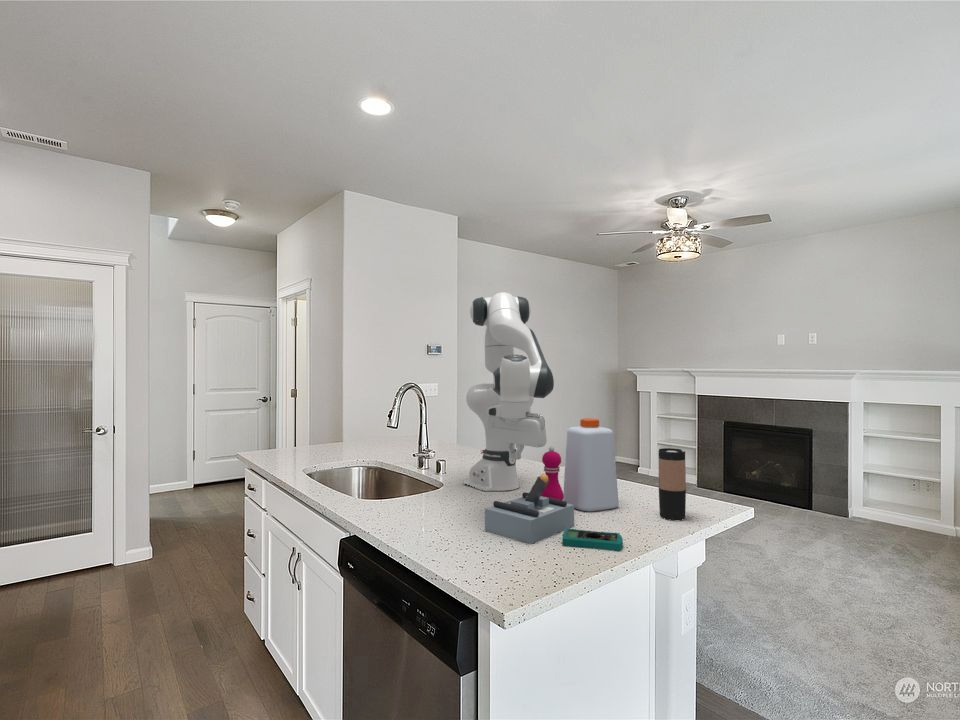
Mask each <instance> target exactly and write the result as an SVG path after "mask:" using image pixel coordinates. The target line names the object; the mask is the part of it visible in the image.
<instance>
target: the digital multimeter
mask: <svg viewBox="0 0 960 720" xmlns="http://www.w3.org/2000/svg"><path fill="white" fill-rule="evenodd" d="M623 541H624V538H623V536H622V535H621V534H620V533H619V532H610V531H609V532H608V531H596V530H595V531H592V530H586V529H585V530H583V529H574V528H568V529H566V530H563V533H562V541H561V542H562V546H563V547H569V548H570V547H571V548H572V547H573V548H583V549H593V548H595V550H603V549H604V551H612V550H614V551H613V552H620V550H622V549H623V548H624V546H623V545H624V542H623Z"/></svg>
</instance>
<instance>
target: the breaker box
mask: <svg viewBox="0 0 960 720" xmlns="http://www.w3.org/2000/svg"><path fill="white" fill-rule="evenodd" d="M526 498H527V496H526ZM526 498H524V497H523V496H521V497H518V498H515V499H512V500H509V501H506V502H504V503H507V504H511V505H515V506H520V507H524V508H528V509H532V510H536V511H538V512H539V516H538V517H534V516H530V515H526V514H522V513H518V512H514V511H510V510H506V509H502V508H498V507H495V506H494V505H492V506H489V507H487V508H484V531H485V530H486V532H489V533H492V532H493V533H492V534H495V533H496V535H499V536H503V537H506V538H509V539H511V540H512V539H513V540H515V541H519V542H523V543H525V544H529V545H532V544H535V543H537V542H539V541H541V540H544V539H547V538H550V537H552V536H554V535H556V534H559V533H561V532H562V531H563V532H564V531H565V530H566V529H571V528H572V527H575V508H574V505H573V504H569V503H567V505H566V506H565V507H563V506H559V505H554V504H550V503H549V498H547V497H542V496H540V498H539V500H538V501H537V503H536V505H534V503H533V502H529V501H525V499H526Z"/></svg>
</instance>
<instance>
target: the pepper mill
mask: <svg viewBox="0 0 960 720" xmlns="http://www.w3.org/2000/svg"><path fill="white" fill-rule="evenodd" d="M541 462H542V464H543V465H544V466H543V472H545V473H544V474H546V475H547V476H548V479H549V482H548V484H547V486H546V487H545V489H544V491H543V493H542V494H541V496H544V497H549V498H554V499H559V500H563V497H564V496H563V492H564V490H563V488H562V486H561V484H560V480H559V473H560V471H561V470H560V465H561V463H562V456H561V455H560V453H558V452H557V451H555V447H553V446H552V445H551V446H550V447H548V451H546V452H544V453H543V454H542V457H541ZM563 501H564V500H563Z"/></svg>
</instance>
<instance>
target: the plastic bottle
mask: <svg viewBox="0 0 960 720" xmlns="http://www.w3.org/2000/svg"><path fill="white" fill-rule="evenodd" d="M579 423H580V424H579V425H580V426H571V427H568V428H567V432H566V447H565V463H564V478H563V496H564V497H563V501H566V502H567V503H569V504H573V505H574V509H575V510H576V509H577V510H579V511H582V512H599V511H605V510H612V509H613V510H614V509H616V508H617V507H618V506H619V491H618V490H619V488H618V479H617V468H616V453H615V440H614V439H615V438H614V431H613V430H612V429H610V428H608V427H603V426H600V420H599V418H587V417H586V418H581V419H580V421H579Z"/></svg>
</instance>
